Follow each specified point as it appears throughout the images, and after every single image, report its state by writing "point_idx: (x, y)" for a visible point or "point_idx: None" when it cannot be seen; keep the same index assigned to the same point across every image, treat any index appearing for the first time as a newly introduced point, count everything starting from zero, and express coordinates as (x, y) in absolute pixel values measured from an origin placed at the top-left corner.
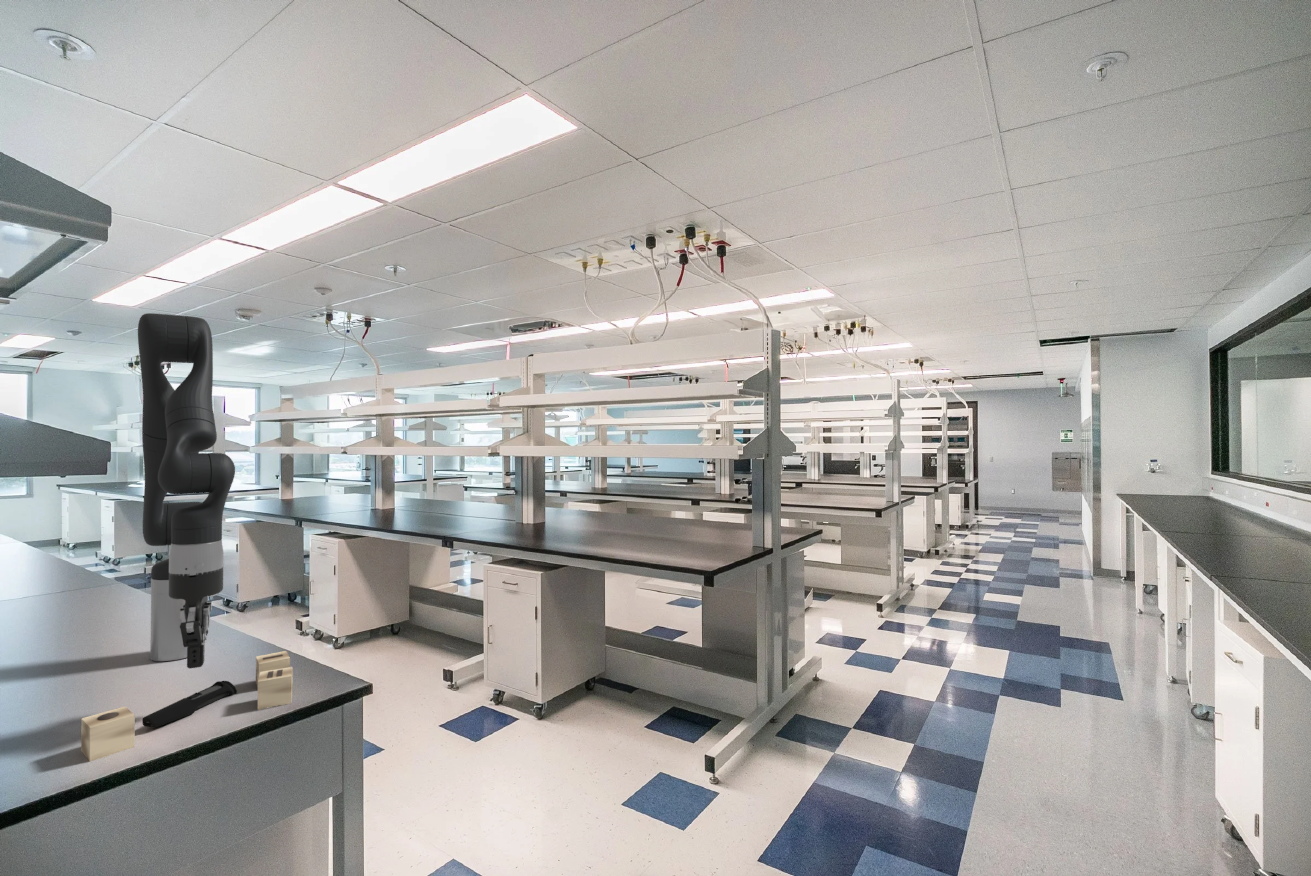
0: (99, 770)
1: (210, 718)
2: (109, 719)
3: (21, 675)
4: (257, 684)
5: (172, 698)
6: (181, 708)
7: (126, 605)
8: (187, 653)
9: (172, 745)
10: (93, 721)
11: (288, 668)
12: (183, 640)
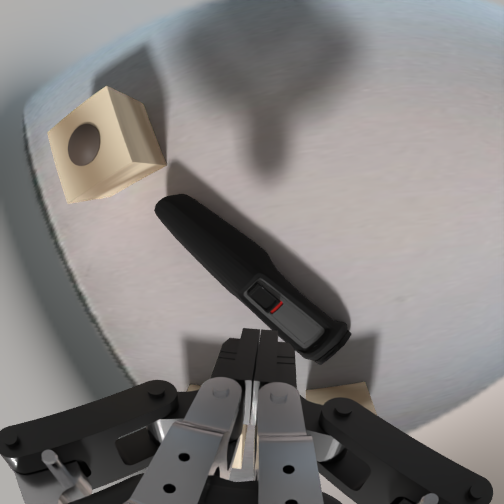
0: (55, 168)
1: (185, 316)
2: (66, 155)
3: None
4: (331, 390)
5: (378, 230)
6: (212, 271)
7: None
8: (236, 360)
9: (90, 260)
10: (73, 122)
11: (233, 464)
12: (96, 402)
